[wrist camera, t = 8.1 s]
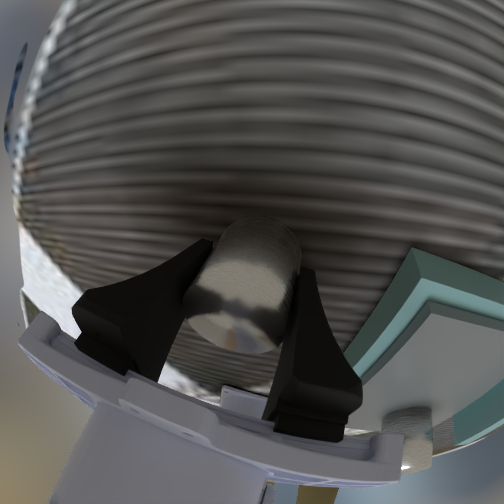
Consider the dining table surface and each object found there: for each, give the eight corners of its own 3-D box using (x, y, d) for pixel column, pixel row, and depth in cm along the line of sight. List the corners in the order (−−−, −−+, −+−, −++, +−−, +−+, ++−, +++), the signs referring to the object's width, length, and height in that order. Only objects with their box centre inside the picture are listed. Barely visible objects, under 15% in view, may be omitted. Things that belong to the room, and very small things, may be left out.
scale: (443, 409, 21) (444, 455, 16) (309, 393, 23) (298, 449, 19) (555, 306, 10) (578, 363, 5) (411, 246, 12) (438, 344, 7)
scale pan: (422, 426, 19) (422, 432, 18) (319, 415, 20) (317, 423, 20) (539, 332, 9) (543, 340, 8) (428, 300, 11) (431, 313, 10)
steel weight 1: (291, 292, 16) (273, 363, 12) (219, 270, 16) (184, 334, 13) (312, 229, 13) (298, 303, 9) (225, 206, 14) (179, 267, 10)
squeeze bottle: (317, 448, 36) (293, 537, 22) (355, 453, 36) (337, 538, 22) (298, 454, 41) (276, 530, 27) (333, 459, 41) (315, 533, 27)
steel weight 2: (412, 426, 17) (409, 474, 13) (372, 423, 18) (365, 475, 14) (442, 407, 15) (443, 462, 11) (400, 404, 15) (397, 465, 11)
